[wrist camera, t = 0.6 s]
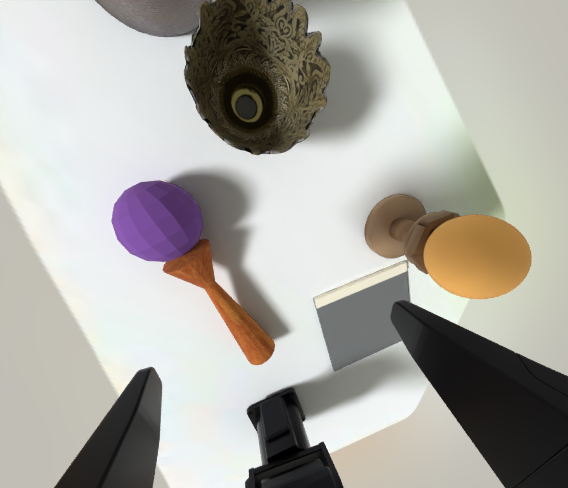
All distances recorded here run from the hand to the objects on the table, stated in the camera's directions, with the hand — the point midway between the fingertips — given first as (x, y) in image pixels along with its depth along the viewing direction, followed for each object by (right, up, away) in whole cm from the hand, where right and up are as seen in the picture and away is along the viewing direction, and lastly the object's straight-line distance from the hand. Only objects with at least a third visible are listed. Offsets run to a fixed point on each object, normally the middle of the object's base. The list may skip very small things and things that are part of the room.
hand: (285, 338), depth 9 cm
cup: (-3, +15, +11) cm, 18 cm away
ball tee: (+12, +5, +18) cm, 22 cm away
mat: (+10, -6, +22) cm, 25 cm away
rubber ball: (+14, +2, +10) cm, 17 cm away
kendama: (-7, 0, +15) cm, 17 cm away
